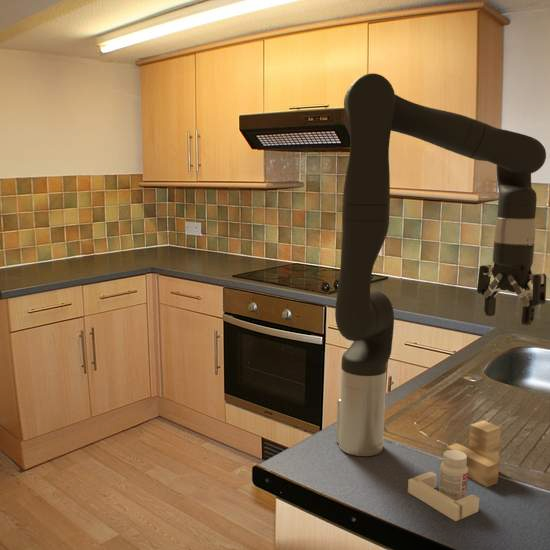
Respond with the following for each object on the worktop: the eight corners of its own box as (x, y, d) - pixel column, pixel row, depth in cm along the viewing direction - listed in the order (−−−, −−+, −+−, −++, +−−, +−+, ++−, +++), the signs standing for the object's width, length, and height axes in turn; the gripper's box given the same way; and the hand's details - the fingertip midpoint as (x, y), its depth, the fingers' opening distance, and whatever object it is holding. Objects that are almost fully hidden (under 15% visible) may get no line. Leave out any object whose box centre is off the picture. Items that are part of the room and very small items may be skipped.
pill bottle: (467, 507, 105) (470, 462, 104) (438, 504, 106) (441, 459, 105) (464, 493, 110) (467, 450, 108) (437, 490, 111) (440, 447, 109)
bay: (407, 492, 110) (408, 479, 109) (430, 483, 113) (430, 471, 112) (455, 521, 101) (456, 507, 100) (478, 511, 104) (479, 498, 103)
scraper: (445, 465, 120) (448, 422, 119) (468, 456, 124) (471, 415, 122) (487, 487, 112) (490, 441, 110) (510, 477, 116) (514, 433, 114)
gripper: (472, 238, 124) (467, 315, 126) (534, 245, 112) (527, 330, 115) (495, 236, 128) (490, 311, 130) (558, 243, 116) (551, 325, 119)
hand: (507, 320), depth 123 cm, fingers open, 8 cm apart
